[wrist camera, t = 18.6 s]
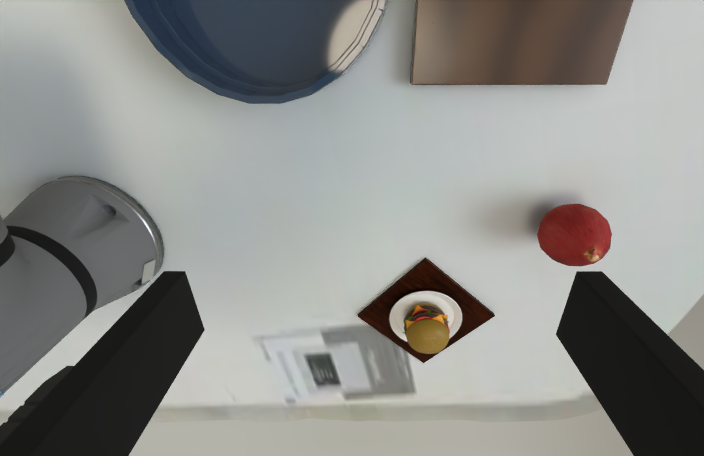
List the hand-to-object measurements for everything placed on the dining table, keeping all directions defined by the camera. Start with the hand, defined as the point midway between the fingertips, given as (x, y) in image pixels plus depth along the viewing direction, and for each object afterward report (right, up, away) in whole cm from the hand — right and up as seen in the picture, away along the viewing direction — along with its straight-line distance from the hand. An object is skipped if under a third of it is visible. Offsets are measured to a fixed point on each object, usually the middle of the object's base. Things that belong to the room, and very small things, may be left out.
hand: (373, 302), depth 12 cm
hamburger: (+9, -8, +31) cm, 33 cm away
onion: (+21, +4, +24) cm, 31 cm away
